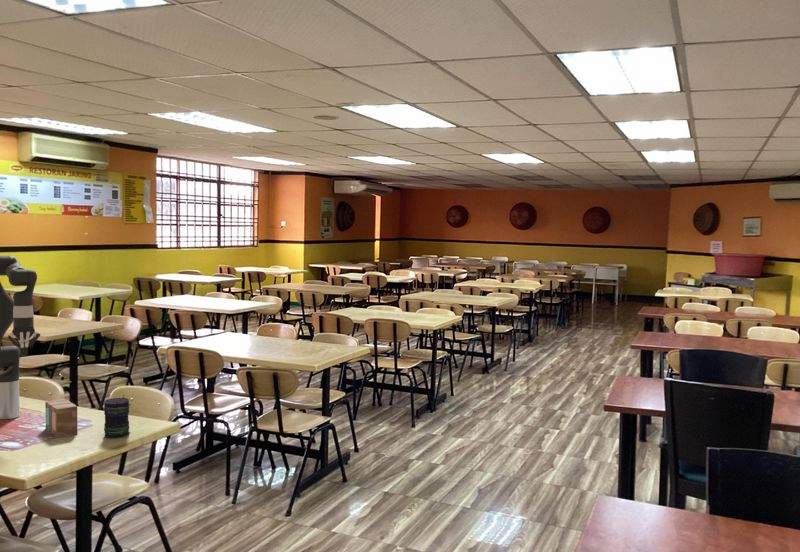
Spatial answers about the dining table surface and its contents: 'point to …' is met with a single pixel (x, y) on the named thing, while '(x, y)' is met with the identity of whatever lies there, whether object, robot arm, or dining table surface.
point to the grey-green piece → (47, 416)
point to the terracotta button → (54, 421)
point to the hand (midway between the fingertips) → (23, 356)
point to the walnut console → (63, 417)
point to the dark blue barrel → (116, 418)
